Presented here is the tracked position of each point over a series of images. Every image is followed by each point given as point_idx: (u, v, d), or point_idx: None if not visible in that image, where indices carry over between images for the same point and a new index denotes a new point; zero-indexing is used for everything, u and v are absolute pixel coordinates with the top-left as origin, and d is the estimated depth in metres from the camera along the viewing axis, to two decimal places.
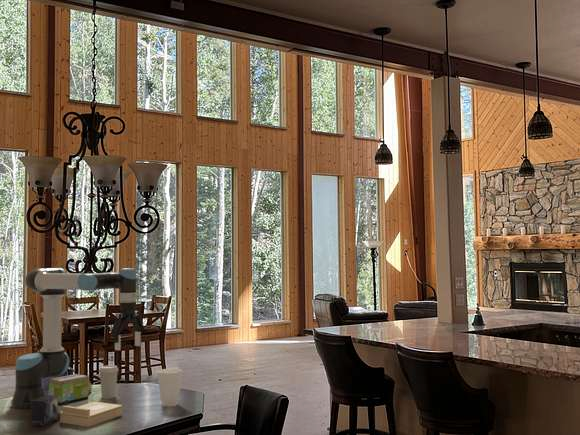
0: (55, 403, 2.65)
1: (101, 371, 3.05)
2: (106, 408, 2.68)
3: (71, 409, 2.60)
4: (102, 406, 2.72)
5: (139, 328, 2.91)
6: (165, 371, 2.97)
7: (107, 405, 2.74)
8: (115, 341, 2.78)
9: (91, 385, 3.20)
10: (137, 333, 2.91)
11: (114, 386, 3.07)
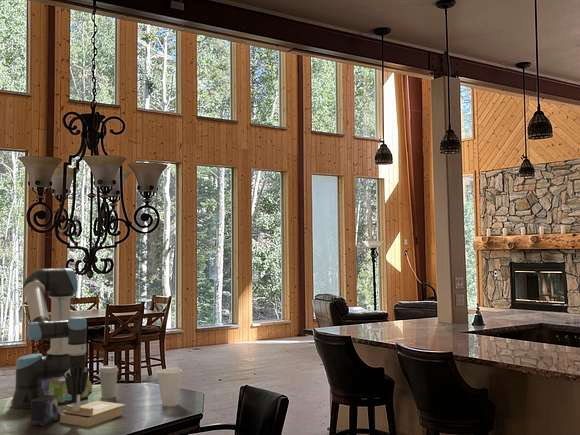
0: (55, 403, 2.65)
1: (101, 371, 3.05)
2: (109, 407, 2.70)
3: None
4: (105, 405, 2.73)
5: (80, 389, 2.62)
6: (165, 371, 2.97)
7: (110, 404, 2.75)
8: (73, 401, 2.59)
9: None
10: None
11: (114, 386, 3.07)
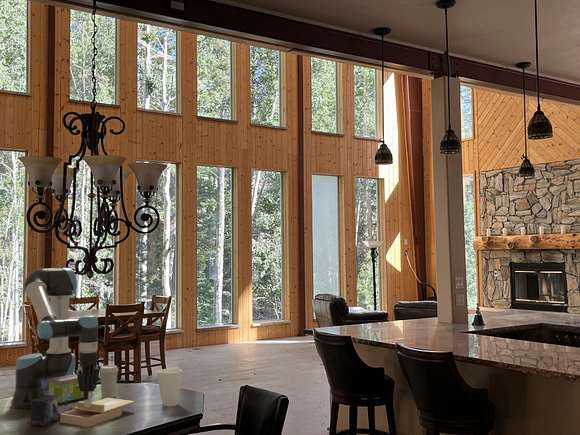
0: (55, 403, 2.65)
1: (101, 371, 3.05)
2: (119, 404, 2.76)
3: None
4: (115, 402, 2.79)
5: (92, 386, 2.67)
6: (165, 371, 2.97)
7: (120, 401, 2.81)
8: (85, 397, 2.65)
9: None
10: None
11: (114, 386, 3.07)
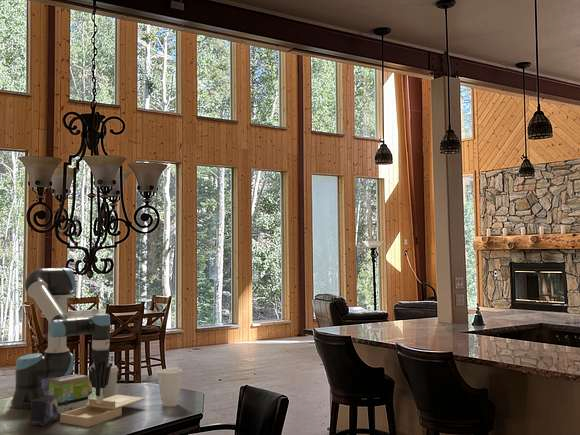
0: (55, 403, 2.65)
1: None
2: (130, 400, 2.82)
3: None
4: (126, 399, 2.85)
5: (103, 383, 2.74)
6: (165, 371, 2.97)
7: (130, 398, 2.87)
8: (97, 394, 2.71)
9: None
10: None
11: (114, 386, 3.07)
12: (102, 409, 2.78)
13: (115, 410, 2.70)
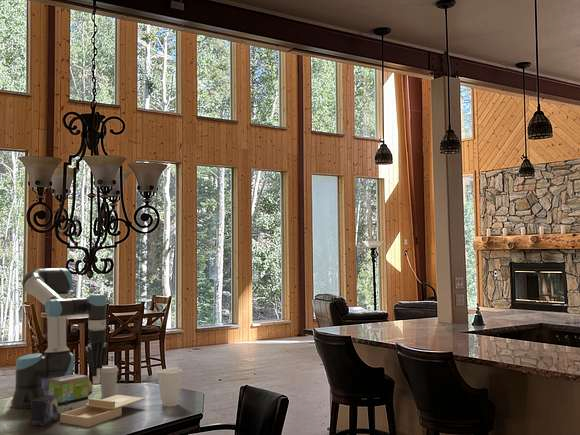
0: (55, 403, 2.65)
1: (101, 371, 3.05)
2: (129, 400, 2.82)
3: (97, 401, 2.74)
4: (125, 399, 2.85)
5: (100, 363, 2.73)
6: (165, 371, 2.97)
7: (130, 398, 2.87)
8: (93, 374, 2.70)
9: (92, 384, 3.22)
10: None
11: (114, 386, 3.07)
12: (102, 409, 2.78)
13: (115, 410, 2.70)
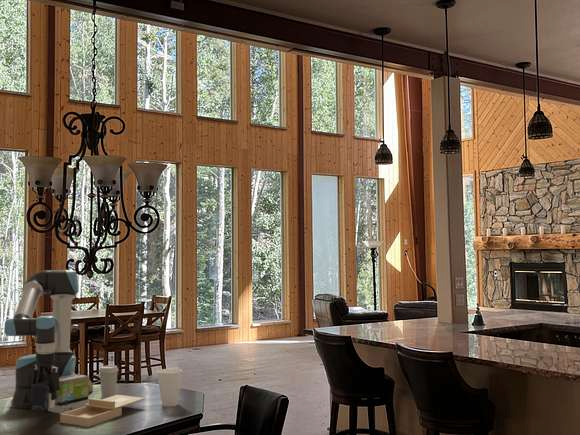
0: None
1: (101, 371, 3.05)
2: (129, 400, 2.82)
3: (97, 401, 2.74)
4: (125, 399, 2.85)
5: (50, 388, 2.61)
6: (165, 371, 2.97)
7: (130, 398, 2.87)
8: None
9: (92, 384, 3.22)
10: None
11: (114, 386, 3.07)
12: (102, 409, 2.78)
13: (115, 410, 2.70)
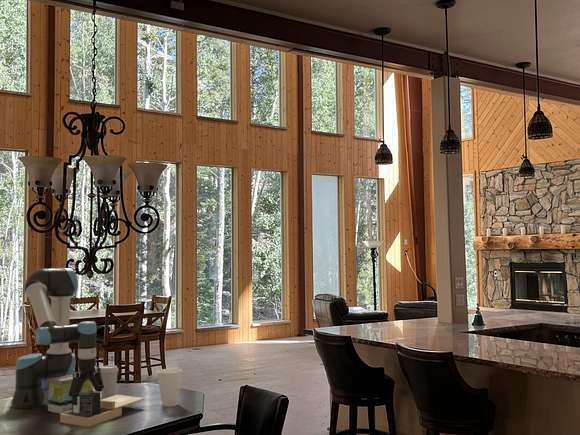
0: None
1: (101, 371, 3.05)
2: (129, 400, 2.82)
3: None
4: (125, 399, 2.85)
5: (98, 387, 2.71)
6: (165, 371, 2.97)
7: (130, 398, 2.87)
8: (74, 403, 2.59)
9: None
10: None
11: (114, 386, 3.07)
12: (102, 409, 2.78)
13: (115, 410, 2.70)
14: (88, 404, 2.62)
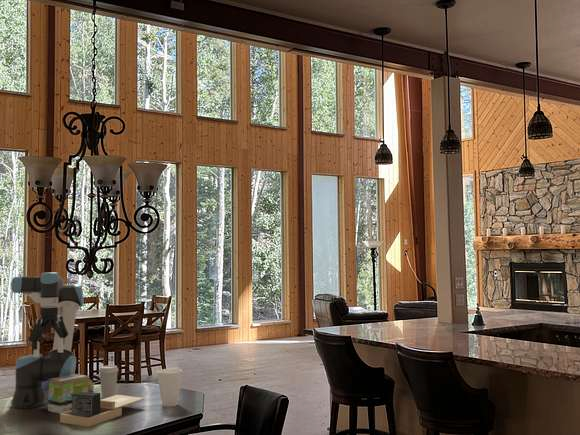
0: None
1: (101, 371, 3.05)
2: (129, 400, 2.82)
3: None
4: (125, 399, 2.85)
5: (62, 334, 2.82)
6: (165, 371, 2.97)
7: (130, 398, 2.87)
8: (34, 347, 2.69)
9: (93, 384, 3.23)
10: (60, 339, 2.82)
11: (114, 386, 3.07)
12: (102, 409, 2.78)
13: (115, 410, 2.70)
14: (88, 404, 2.62)
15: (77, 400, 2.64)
